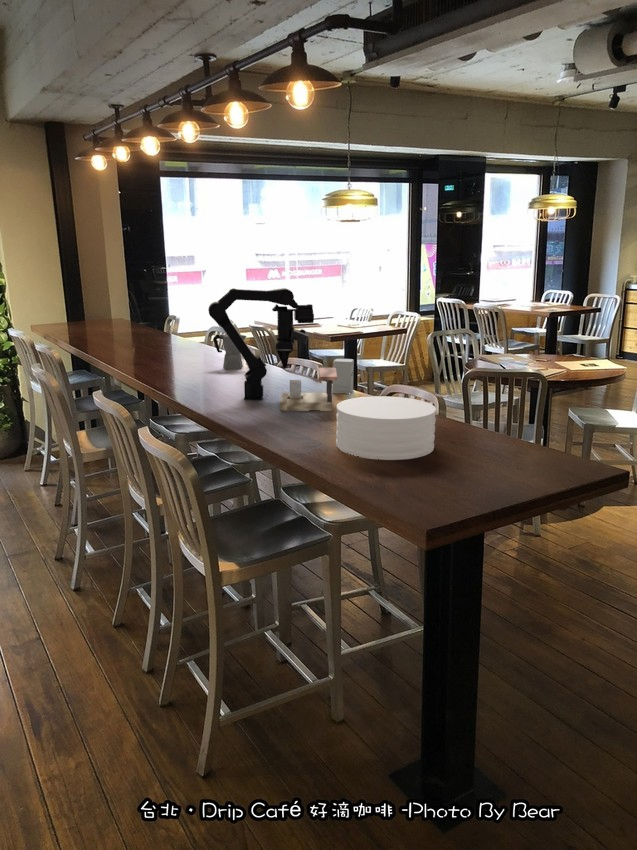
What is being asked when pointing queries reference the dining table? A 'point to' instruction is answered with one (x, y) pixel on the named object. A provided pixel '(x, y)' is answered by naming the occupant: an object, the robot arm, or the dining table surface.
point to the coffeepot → (229, 352)
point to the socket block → (312, 396)
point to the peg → (295, 389)
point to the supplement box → (343, 376)
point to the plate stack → (385, 427)
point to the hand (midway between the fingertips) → (285, 365)
